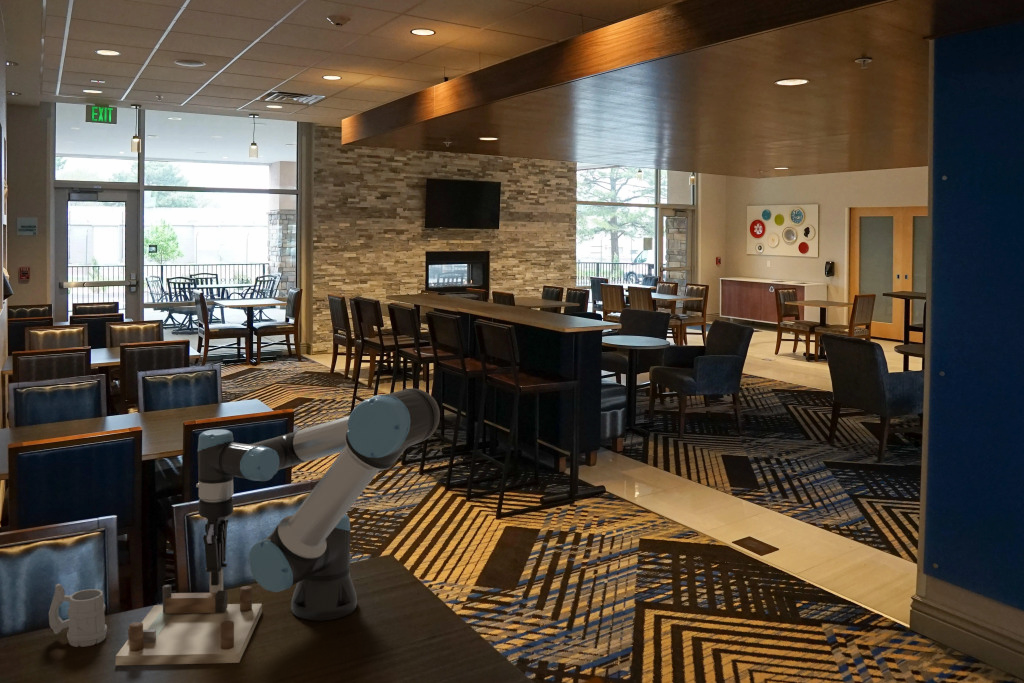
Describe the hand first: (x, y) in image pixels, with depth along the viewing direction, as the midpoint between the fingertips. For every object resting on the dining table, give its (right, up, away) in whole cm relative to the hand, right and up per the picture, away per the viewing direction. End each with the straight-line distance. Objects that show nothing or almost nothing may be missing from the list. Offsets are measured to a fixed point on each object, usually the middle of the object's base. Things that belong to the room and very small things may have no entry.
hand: (216, 596), depth 190 cm
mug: (-24, -5, -15) cm, 29 cm away
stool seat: (0, -5, -13) cm, 14 cm away
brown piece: (-3, -2, -5) cm, 6 cm away
